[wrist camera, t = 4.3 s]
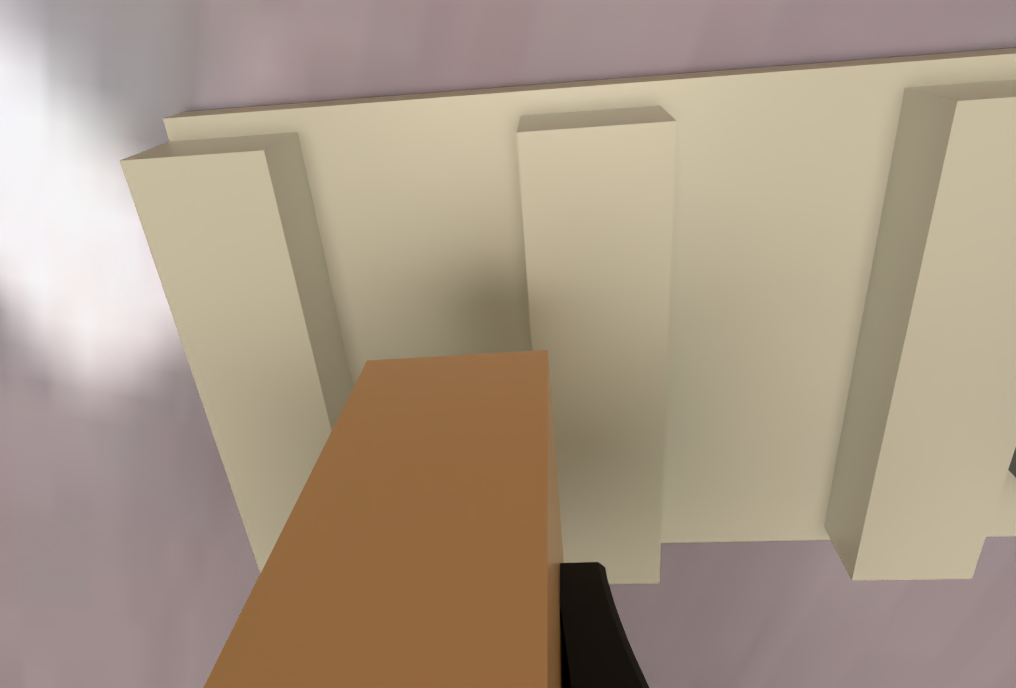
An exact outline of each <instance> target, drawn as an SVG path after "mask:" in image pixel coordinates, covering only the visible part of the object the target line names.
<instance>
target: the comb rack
mask: <svg viewBox="0 0 1016 688" xmlns="http://www.w3.org/2000/svg"><path fill="white" fill-rule="evenodd" d="M163 121H164V124H165V127H166V131H167V134H168V137H169V140H170V142H167V143H165V144H162V145H159V146H157V147H154V148H151V149H149V150H146V151H144V152H141V153H138V154H136V155H133V156H131V157H128V158H125V159H123V160H120V163H121V166H122V169H123V172H124V175H125V178H126V181H127V183H128V186H129V189H130V192H131V195H132V198H133V201H134V204H135V207H136V210H137V213H138V216H139V219H140V222H141V225H142V227H143V230H144V233H145V236H146V239H147V242H148V245H149V248H150V251H151V254H152V257H153V260H154V263H155V266H156V269H157V271H158V274H159V277H160V280H161V283H162V286H163V289H164V292H165V295H166V298H167V301H168V304H169V307H170V310H171V312H172V315H173V318H174V321H175V324H176V327H177V330H178V333H179V336H180V339H181V342H182V345H183V348H184V351H185V354H186V356H187V359H188V362H189V365H190V368H191V371H192V374H193V377H194V380H195V383H196V386H197V389H198V392H199V395H200V398H201V400H202V403H203V406H204V409H205V412H206V415H207V418H208V421H209V424H210V427H211V430H212V433H213V436H214V439H215V442H216V444H217V447H218V450H219V453H220V456H221V459H222V462H223V465H224V468H225V471H226V474H227V477H228V480H229V483H230V486H231V488H232V491H233V494H234V497H235V500H236V503H237V506H238V509H239V512H240V515H241V518H242V521H243V524H244V527H245V530H246V532H247V535H248V538H249V541H250V544H251V547H252V550H253V553H254V556H255V559H256V562H257V565H258V568H259V571H260V574H261V572H262V570H263V568H264V566H265V564H266V562H267V560H268V558H269V556H270V554H271V552H272V550H273V548H274V546H275V544H276V542H277V540H278V538H279V536H280V534H281V532H282V530H283V528H284V526H285V524H286V522H287V520H288V518H289V516H290V514H291V512H292V510H293V508H294V506H295V504H296V502H297V500H298V498H299V496H300V494H301V492H302V490H303V488H304V486H305V484H306V482H307V480H308V478H309V476H310V474H311V472H312V470H313V468H314V466H315V464H316V462H317V460H318V458H319V456H320V454H321V452H322V450H323V448H324V446H325V443H326V441H327V439H328V437H329V435H330V433H331V431H332V429H333V427H334V425H335V423H336V421H337V419H338V417H339V415H340V413H341V411H342V409H343V407H344V405H345V403H346V401H347V399H348V397H349V395H350V393H351V391H352V389H353V387H354V385H355V383H356V381H357V379H358V377H359V375H360V373H361V371H362V369H363V367H364V365H365V363H366V361H367V360H384V359H401V358H418V357H435V356H453V355H470V354H487V353H505V352H522V351H539V350H548V359H549V372H550V385H551V399H552V412H553V425H554V438H555V451H556V465H557V478H558V491H559V504H560V518H561V531H562V544H563V557H564V563H577V562H599V563H600V564H602V565H603V566H604V567H605V569H606V574H607V579H608V583H609V584H644V583H660V556H661V543H685V542H736V541H787V540H831V541H832V543H833V545H834V547H835V549H836V551H837V553H838V555H839V557H840V559H841V560H842V562H843V564H844V566H845V568H846V570H847V572H848V574H849V576H850V578H851V580H915V579H972V577H973V574H974V571H975V568H976V565H977V562H978V559H979V556H980V553H981V550H982V547H983V544H984V541H985V538H986V537H990V536H1016V477H1015V476H1014V475H1013V474H1012V473H1011V472H1010V471H1009V470H1008V469H1009V466H1010V463H1011V460H1012V457H1013V454H1014V451H1015V448H1016V48H1007V49H994V50H981V51H968V52H955V53H942V54H929V55H916V56H903V57H890V58H877V59H864V60H851V61H838V62H825V63H812V64H799V65H786V66H773V67H760V68H747V69H734V70H721V71H708V72H695V73H682V74H669V75H656V76H643V77H630V78H617V79H604V80H591V81H578V82H565V83H552V84H539V85H526V86H513V87H500V88H487V89H474V90H461V91H448V92H435V93H422V94H409V95H396V96H383V97H370V98H357V99H344V100H331V101H318V102H305V103H292V104H279V105H266V106H253V107H240V108H227V109H214V110H201V111H188V112H182V113H179V114H176V115H173V116H170V117H166V118H163Z"/></svg>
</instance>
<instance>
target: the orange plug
mask: <svg viewBox="0 0 1016 688" xmlns="http://www.w3.org/2000/svg"><path fill="white" fill-rule="evenodd" d="M560 563H564V557H563V544H562V531H561V518H560V504H559V491H558V478H557V465H556V451H555V438H554V425H553V412H552V399H551V385H550V372H549V359H548V350H539V351H522V352H505V353H487V354H470V355H453V356H435V357H418V358H401V359H384V360H367V361H366V363H365V365H364V367H363V369H362V371H361V373H360V375H359V377H358V379H357V381H356V383H355V385H354V387H353V389H352V391H351V393H350V395H349V397H348V399H347V401H346V403H345V405H344V407H343V409H342V411H341V413H340V415H339V417H338V419H337V421H336V423H335V425H334V427H333V429H332V431H331V433H330V435H329V437H328V439H327V441H326V443H325V446H324V448H323V450H322V452H321V454H320V456H319V458H318V460H317V462H316V464H315V466H314V468H313V470H312V472H311V474H310V476H309V478H308V480H307V482H306V484H305V486H304V488H303V490H302V492H301V494H300V496H299V498H298V500H297V502H296V504H295V506H294V508H293V510H292V512H291V514H290V516H289V518H288V520H287V522H286V524H285V526H284V528H283V530H282V532H281V534H280V536H279V538H278V540H277V542H276V544H275V546H274V548H273V550H272V552H271V554H270V556H269V558H268V560H267V562H266V564H265V566H264V568H263V570H262V572H261V574H260V576H259V578H258V580H257V582H256V584H255V586H254V588H253V590H252V592H251V594H250V596H249V598H248V600H247V602H246V604H245V606H244V608H243V610H242V612H241V614H240V616H239V618H238V620H237V622H236V624H235V626H234V628H233V630H232V632H231V634H230V636H229V638H228V640H227V642H226V644H225V646H224V648H223V650H222V652H221V654H220V656H219V658H218V660H217V662H216V664H215V666H214V668H213V670H212V672H211V674H210V676H209V678H208V680H207V682H206V684H205V686H204V688H567V681H566V669H565V657H564V644H563V632H562V619H561V607H560Z"/></svg>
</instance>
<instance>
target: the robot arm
mask: <svg viewBox="0 0 1016 688" xmlns="http://www.w3.org/2000/svg"><path fill="white" fill-rule="evenodd" d="M560 607H561V619H562V632H563V644H564V657H565V669H566V681H567V688H649V686H648V684H647V682H646V680H645V678H644V675H643V673H642V671H641V669H640V667H639V664H638V662H637V660H636V658H635V656H634V653H633V651H632V649H631V646H630V644H629V641H628V639H627V636H626V634H625V631H624V629H623V626H622V623H621V621H620V618H619V615H618V612H617V610H616V607H615V604H614V601H613V597H612V594H611V591H610V587H609V583H608V579H607V574H606V569H605V567H604V566H603V565H602V564H600V563H599V562H577V563H560Z"/></svg>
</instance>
